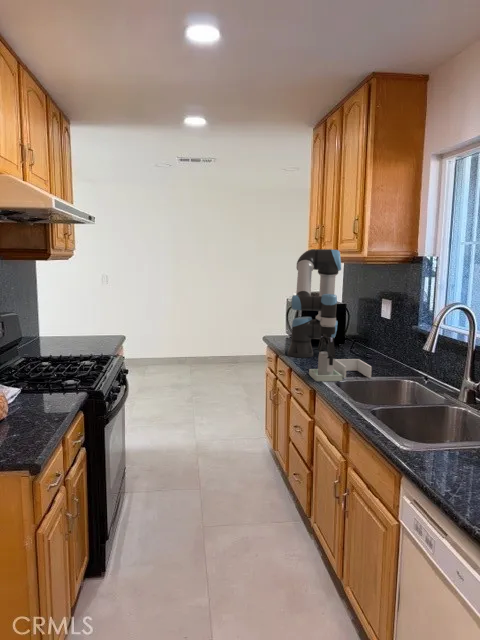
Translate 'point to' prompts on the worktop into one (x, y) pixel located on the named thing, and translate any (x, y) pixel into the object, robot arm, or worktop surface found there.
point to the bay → (352, 367)
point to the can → (323, 364)
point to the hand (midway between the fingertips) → (325, 368)
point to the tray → (325, 376)
